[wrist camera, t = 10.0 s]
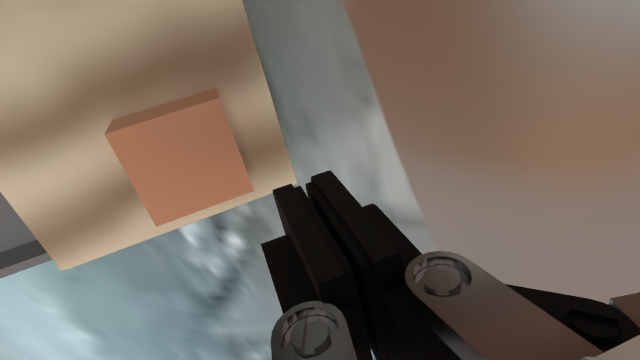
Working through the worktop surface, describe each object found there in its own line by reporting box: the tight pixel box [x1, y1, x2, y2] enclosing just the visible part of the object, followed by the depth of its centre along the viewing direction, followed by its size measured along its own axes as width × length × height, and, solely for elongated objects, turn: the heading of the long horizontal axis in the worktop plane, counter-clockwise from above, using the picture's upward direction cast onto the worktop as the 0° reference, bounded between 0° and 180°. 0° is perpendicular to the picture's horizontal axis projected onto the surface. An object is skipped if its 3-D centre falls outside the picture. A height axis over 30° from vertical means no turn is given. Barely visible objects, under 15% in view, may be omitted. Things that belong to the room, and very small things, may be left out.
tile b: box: [104, 88, 254, 227], centre depth 22 cm, size 6×6×2 cm
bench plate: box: [0, 0, 297, 271], centre depth 23 cm, size 20×16×5 cm
